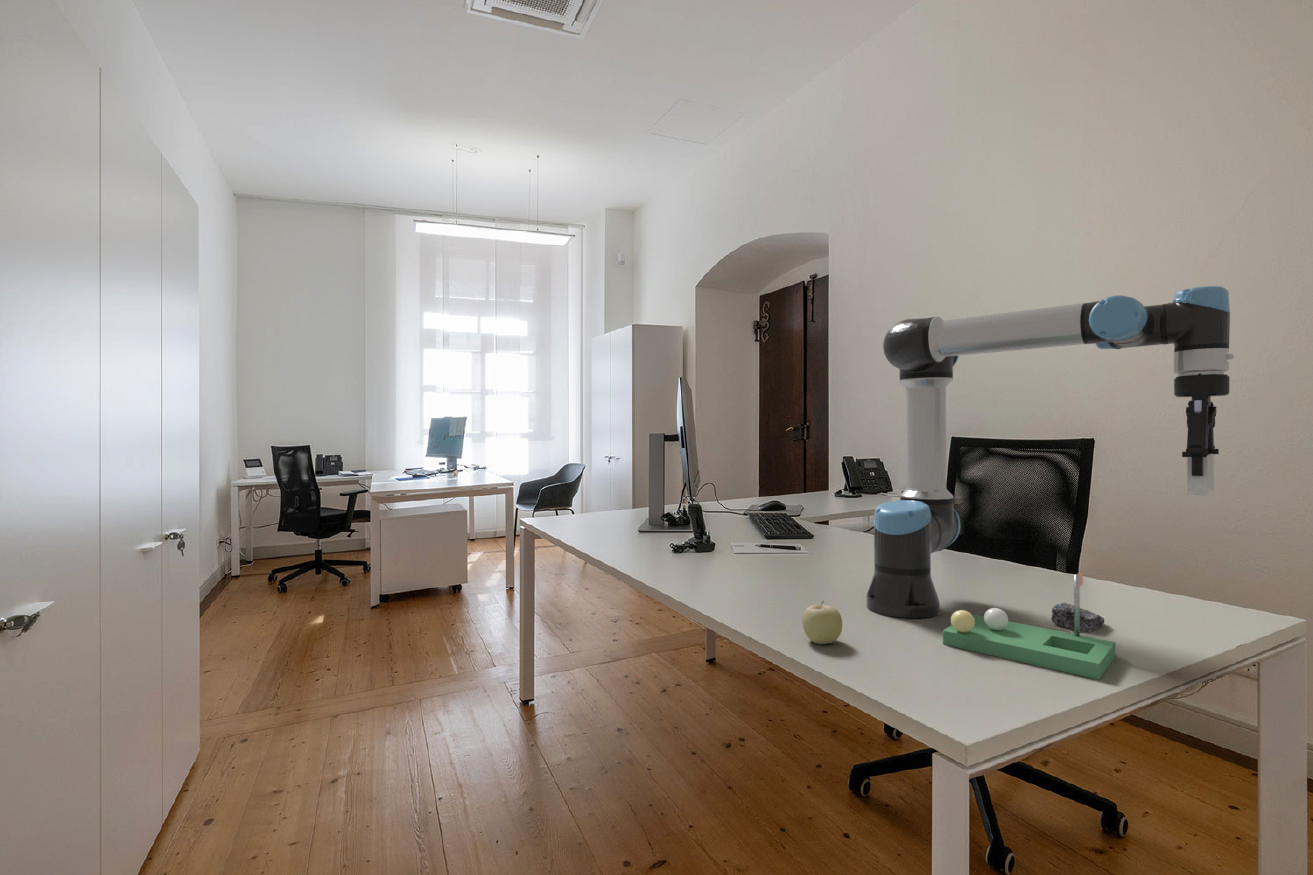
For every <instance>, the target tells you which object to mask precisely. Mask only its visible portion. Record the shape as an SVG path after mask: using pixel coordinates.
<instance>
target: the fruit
mask: <svg viewBox="0 0 1313 875" xmlns="http://www.w3.org/2000/svg"><path fill="white" fill-rule="evenodd" d="M801 618H802V619H801V624H802V627H803V630H804V633H805V634H806V637H807V638H808V639H809V640H810V641H811V642H813V643H815V644H816V645H826V644H831V643H834V642H835V641H837V640H838V638H839V637H840V636H841V634H842V632H843V619H842V615H841V613H840V612H839V611H838V609H837V608H835V607H834V606H832V605H827V604H825V601H824V600H821V604H813V605H810V606H809V607H807V608H806V609H805V610H804V612H803V613H802V617H801Z"/></svg>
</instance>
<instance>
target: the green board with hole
mask: <svg viewBox="0 0 1313 875" xmlns="http://www.w3.org/2000/svg"><path fill="white" fill-rule="evenodd" d="M970 614H971V615H972V616H973V617H974V620H975V626H974V628H973V629H972V630H971V631H970V632H967V633H962V632H959V631H957V630H956V629H954V627H953V626H952V624H951V625H950V626H948V627H946V628H945V629H943V630H942V645H946V646H950V647H955V648H958V649H959V648H960V649H964V650H968V651H972V652H977V653H981V654H986V655H989V656H994V657H999V658H1001V659H1002V658H1003V659H1007V660H1011V661H1016V662H1021V663H1024V664H1025V663H1026V664H1028V665H1034V666H1037V667H1042V668H1047V669H1051V670H1056V671H1060V672H1064V673H1068V674H1073V675H1078V676H1080V677H1087V678H1091V679H1094V680H1099V681H1100V679H1101V678H1102V677H1103V675H1104V673H1105V672H1106V670H1107V669H1108V668H1109V667H1110V664H1112V662H1113V661H1114V659H1115V657H1116V651H1117V650H1116V641H1113V640H1108V639H1102V638H1097V637H1092V636H1087V635H1081V634H1080V636H1079V637H1077V636H1074V633H1071V632H1066V631H1060V630H1056V629H1049V628H1045V627H1041V626H1040V627H1039V626H1034V625H1029V624H1024V623H1019V622H1018V623H1017V622H1013V621H1009V620H1008V625H1007V627H1006V628H1004V629H1003V630H993V629H991V628H989V627H988V626H987V625H986V623H985V621H984V616H982V615H977V614H976V615H975V614H972V613H970Z"/></svg>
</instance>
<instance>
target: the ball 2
mask: <svg viewBox="0 0 1313 875" xmlns="http://www.w3.org/2000/svg"><path fill="white" fill-rule="evenodd" d="M983 617H984V621H985V623H986V625H987V626H988V627H989V628H991V629H993V630H1003V629H1004V628H1006V627H1007V625H1008V621H1009V617H1008V615H1007V613H1006V612H1005V611H1004V610H1002V609H1000V608H996V607H992V608H989V609H988V610H986V611H985V612H984V615H983Z"/></svg>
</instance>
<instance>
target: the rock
mask: <svg viewBox="0 0 1313 875" xmlns="http://www.w3.org/2000/svg"><path fill="white" fill-rule="evenodd" d="M1051 621H1052V623H1053V624H1054V625H1055V626H1058V627H1062V628H1065V629H1069V630H1071V631H1074V605H1073V604H1071V603H1067V602H1062V603H1056V604H1055V605H1054V606H1052V608H1051ZM1104 624H1105V618H1104V617H1102V616H1101V615H1099V614H1097V613H1095V612H1091V611H1090V610H1088V609H1083V608H1081V607H1080V633H1086V634H1091V633H1094V632H1096V631H1097V630H1098V629H1101V628H1102V626H1103V625H1104Z"/></svg>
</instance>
